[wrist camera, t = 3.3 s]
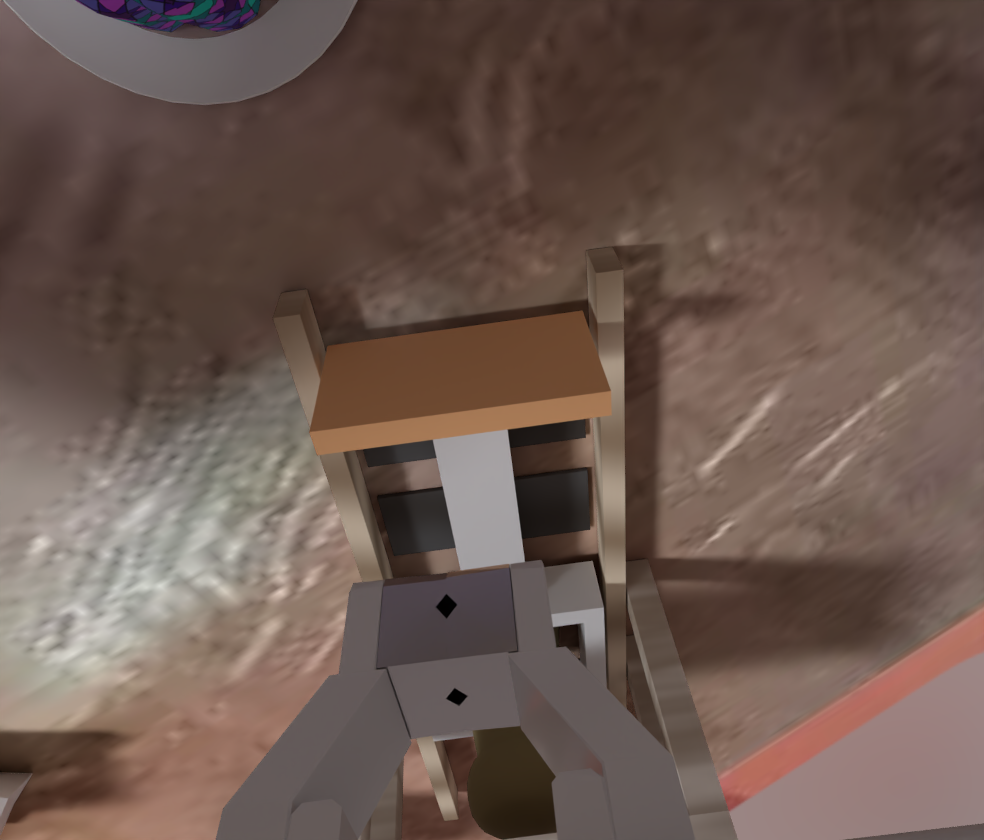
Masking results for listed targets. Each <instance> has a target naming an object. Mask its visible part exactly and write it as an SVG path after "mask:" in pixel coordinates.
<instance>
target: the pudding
mask: <svg viewBox="0 0 984 840" xmlns="http://www.w3.org/2000/svg"><path fill="white" fill-rule="evenodd" d="M3 1H4V2H5V3H6V4H7V5H8V6H9V7H10V8H11V9H12V10H13V11H14V13H15V14H16V15H17V16H18V17H19V18H20V19H21V20H22V21H23V22H24V23H25V24H26V25H27V26H28V27H29V28H30V29H31V30H32V31H33V32H35V33H36V34H37V35H38V36H40V37H41V38H42V39H43V40H45V41H46V42H47V43H48V44H50V45H51V46H52V47H53V48H55V49H56V50H57V51H59V52H60V53H61V54H62V55H64V56H65V57H66V58H68V59H69V60H71V61H73V62H74V63H76V64H78V65H79V66H81V67H83V68H84V69H86V70H88V71H89V72H91V73H93V74H94V75H96V76H98V77H99V78H101V79H103V80H105V81H108V82H110V83H113V84H115V85H117V86H120V87H122V88H124V89H127V90H129V91H132V92H134V93H136V94H140V95H144V96H148V97H152V98H156V99H160V100H164V101H168V102H172V103H185V104H198V105H212V104H222V103H231V102H239V101H242V100H246V99H249V98H252V97H255V96H259V95H262V94H265V93H268V92H270V91H272V90H274V89H276V88H278V87H280V86H281V85H283V84H285V83H287V82H289V81H290V80H292V79H294V78H296V77H297V76H299V75H300V74H301V73H302V72H303V71H304V70H306V69H307V68H308V67H309V66H310V65H311V64H313V63H314V62H315V61H316V60H317V59H319V58H320V57H321V56H322V55H323V53H324V52H325V51H326V50H327V48H328V47H329V46H330V45H331V43H332V42H333V41H334V39H335V38H336V37H337V36H338V34H339V33H340V32H341V31H342V29H343V27H344V25H345V24H346V22H347V20H348V18H349V16H350V14H351V12H352V10H353V8H354V6H355V4H356V2H357V1H358V0H279V1H278V2H277V3H276V4H275V5H274V6H273V7H272V8H271V9H270V10H269V11H267V12H266V13H265V14H264V15H263V16H262V17H261V18H259V19H258V20H256V21H254V22H253V23H251V24H249V25H247V26H246V27H244V28H242V29H240V30H237V31H234V32H231V33H228V34H225V35H222V36H219V37H210V38H201V39H189V38H176V37H169V36H165V35H162V34H158V33H154V32H150V31H146V30H144V29H142V28H140V27H143V28H147V29H154V30H160V31H167V32H172V31H174V30H175V29H177V28H178V27H180V26H181V25H183V24H184V23H187V24H191V25H194V26H198V27H202V28H205V29H209V30H213V31H216V32H220V31H226V30H231V29H237V28H241V27H242V26H243V25H245V24H246V23H247V22H248V21H250V20H251V19H252V18H253V17H255V16H256V15H257V14H258V11H259V6H260V1H261V0H3ZM133 24H134V25H133ZM135 25H137V26H140V27H137V26H135Z"/></svg>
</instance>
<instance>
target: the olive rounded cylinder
mask: <svg viewBox="0 0 984 840" xmlns="http://www.w3.org/2000/svg"><path fill="white" fill-rule="evenodd" d="M553 629H554V636H555V642H556V647H559V626H557V627H553ZM472 731H473V736H474V741H475V746H476V752H477V758H476V759H475V761H474V762H473V765H472V767H471V769H470V772H469V777H468V782H467V791H468V801H469V806H470V809H471V813H472V816H473V818H474V819H475V821H476V822H477V824H478V825H479V827H480V828H481V829H482V830H483V831H484V832H486V833H488V834H490V835H492V836H494V837H496V838H499V839H503V840H504V839H512V838H519V837H527V836H535V835H543V834H551V833H557V828H556V819H555V810H554V801H553V791H552V782H553V780H554V779H555V778H556V776H555V775H554V773H553V772H552V771H551V769H550V768H549V767H548V765H547V764H546V762H545V761H544V760H543V758H542V757H541V756H540V754H539V753H538V751H537V750H536V749H535V747H534V746H533V745H532V743H531V742H530V740H529V739H528V738H527V736H526V735H525V734H524V732H523V731H522V729H521V726H515V727H504V728H493V729H483V730H472Z"/></svg>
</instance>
